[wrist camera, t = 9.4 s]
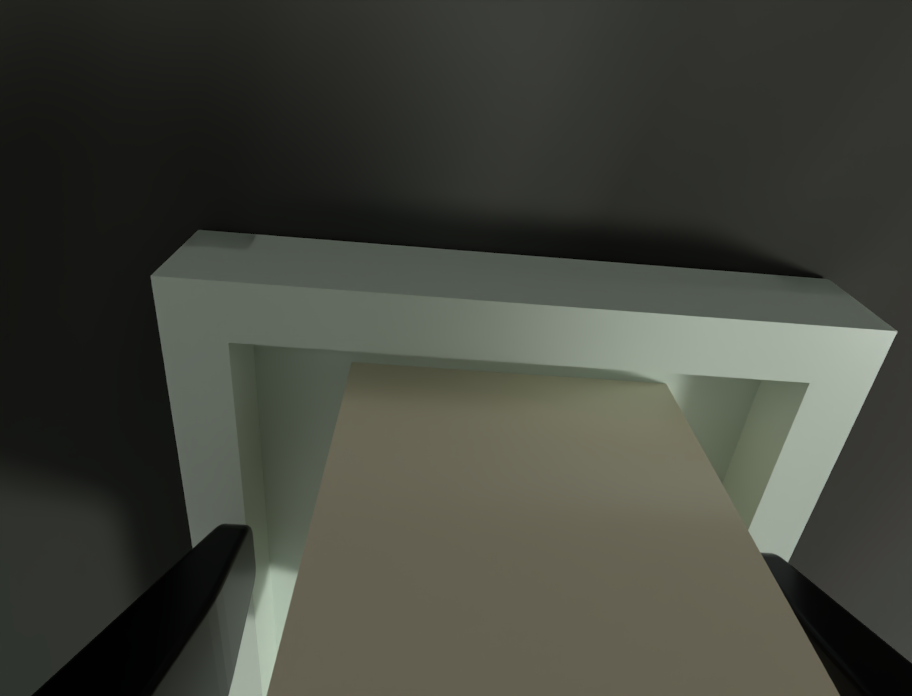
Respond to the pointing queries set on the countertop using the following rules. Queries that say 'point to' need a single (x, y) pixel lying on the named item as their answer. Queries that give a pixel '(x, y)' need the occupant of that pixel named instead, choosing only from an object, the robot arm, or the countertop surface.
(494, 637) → the beige block
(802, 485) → the tray
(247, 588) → the robot arm
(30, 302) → the countertop surface
